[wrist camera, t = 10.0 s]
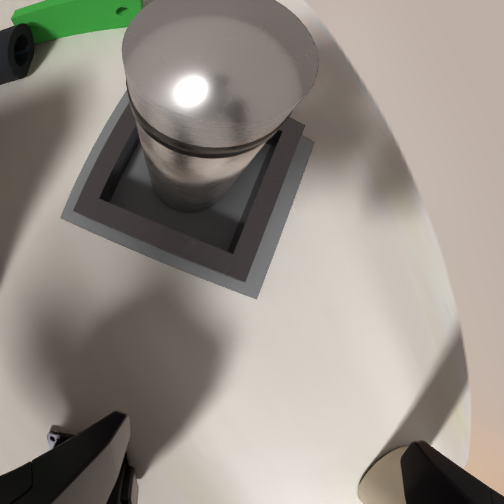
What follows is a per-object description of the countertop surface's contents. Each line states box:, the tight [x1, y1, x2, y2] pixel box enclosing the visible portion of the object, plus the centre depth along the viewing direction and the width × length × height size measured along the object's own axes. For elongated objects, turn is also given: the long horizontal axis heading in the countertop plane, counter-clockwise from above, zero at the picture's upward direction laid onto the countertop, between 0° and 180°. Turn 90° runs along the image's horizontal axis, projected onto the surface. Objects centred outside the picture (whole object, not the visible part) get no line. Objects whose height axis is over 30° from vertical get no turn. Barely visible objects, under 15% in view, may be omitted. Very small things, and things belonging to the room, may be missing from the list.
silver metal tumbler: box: [122, 0, 318, 213], centre depth 13 cm, size 5×5×13 cm
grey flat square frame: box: [60, 91, 314, 299], centre depth 19 cm, size 12×14×1 cm
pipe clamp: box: [11, 0, 143, 44], centre depth 15 cm, size 11×4×5 cm, turn 94°
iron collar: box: [73, 102, 305, 282], centre depth 18 cm, size 11×11×2 cm
